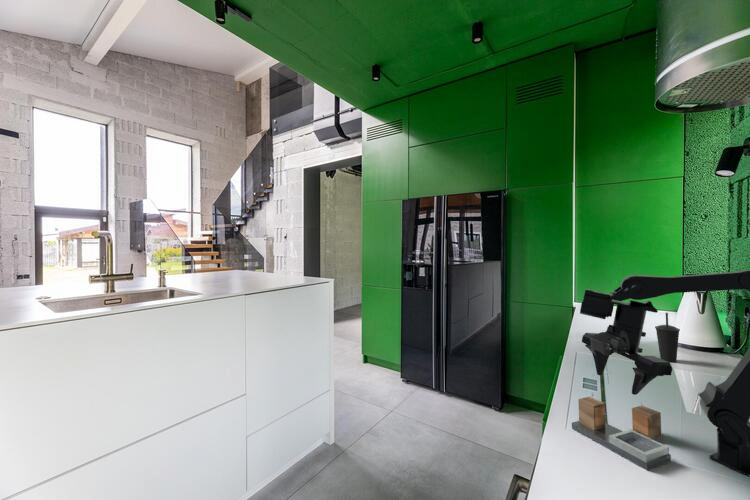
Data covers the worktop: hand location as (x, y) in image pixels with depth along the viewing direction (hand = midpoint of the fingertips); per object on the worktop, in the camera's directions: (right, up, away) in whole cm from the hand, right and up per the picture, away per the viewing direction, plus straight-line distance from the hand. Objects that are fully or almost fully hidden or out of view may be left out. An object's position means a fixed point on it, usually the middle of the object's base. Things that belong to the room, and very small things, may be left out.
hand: (615, 384), depth 79 cm
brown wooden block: (-5, -11, +1) cm, 12 cm away
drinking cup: (+62, -13, +52) cm, 82 cm away
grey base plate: (-3, -12, -4) cm, 13 cm away
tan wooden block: (+7, -12, -1) cm, 14 cm away
